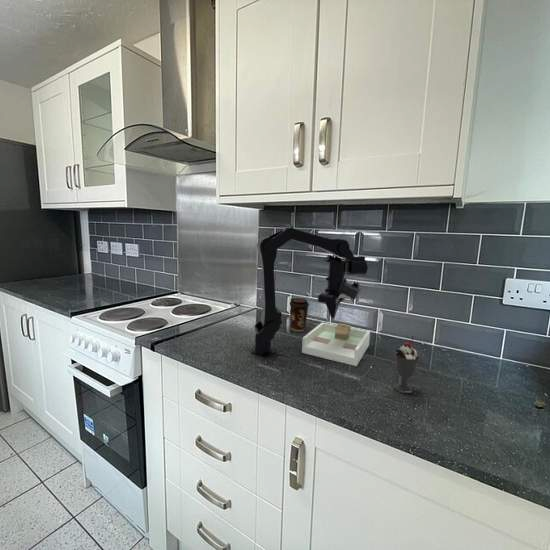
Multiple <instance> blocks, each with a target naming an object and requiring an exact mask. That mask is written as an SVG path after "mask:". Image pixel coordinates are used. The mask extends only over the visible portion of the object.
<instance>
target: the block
mask: <svg viewBox="0 0 550 550" xmlns="http://www.w3.org/2000/svg"><path fill="white" fill-rule="evenodd" d="M336 325H337V326H336V327H335V338H337V339H342V340H346V341H347V339H348V338H349V337H350V328H352V326H351V325H349V324H345V323H338V324H336Z"/></svg>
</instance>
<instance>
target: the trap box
mask: <svg viewBox="0 0 550 550" xmlns="http://www.w3.org/2000/svg"><path fill="white" fill-rule="evenodd" d="M337 325H338V324H332V323H327V322H321V323H320V324H318V325H317V326H315V327H314V328H313V329H312V330H310V331H309V332H308V333H307V334H305V335H304V336H303V337H302V344H301V346H302V347H301V353H302V354H306V355H310V356H314V357H317V358H322V359H327V360H330V361H333V362H338V363H342V364H347V365H349V366H353V367H358V364H359V363H360V361H362V358H363V356H364V354H365V353H366V351H367V349H369V348H368V347H369V346H370V340H371V339H370V337H371V331H369V330H363V329H358V328H354V327H350V337H349V338H348V339H347V341H346V340H342V339H337V338H335V327H336V326H337Z"/></svg>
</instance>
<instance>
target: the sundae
mask: <svg viewBox="0 0 550 550" xmlns="http://www.w3.org/2000/svg"><path fill="white" fill-rule="evenodd" d="M410 338H411V339H410V340H409V341H406V342H405V343H404V344H402V345H401V346H400V347H399V348H398V349H395V351H394V352H393V354H394V356H395V357H396V370H397V373H398V375H399V377H401V383H397V384H395V388H396V389H398V390H401V391H410V390H411V389H410V387H411V386H409V385H407V379H410V378H411V377H413V375H414V374H415V371H416V365H417V364H418V362H419V361H420V360H421V355H419V354H418V352H417V350H416V349H415V345H414V338H415V336H413V335H412V336H411V337H410ZM410 342H411V343H410ZM408 386H409V387H408Z"/></svg>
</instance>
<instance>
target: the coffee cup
mask: <svg viewBox="0 0 550 550" xmlns="http://www.w3.org/2000/svg"><path fill="white" fill-rule="evenodd" d="M289 300H290V302H289V307H290V310H289V317H290V321H291V325H290V327H289V328H290V330H292V331H294V332H304V331H305V329H306V324H307V317H308V309H309V305H310V304H309V302H308V300H307V299H306V298H302V297H293V298H290V299H289Z"/></svg>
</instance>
